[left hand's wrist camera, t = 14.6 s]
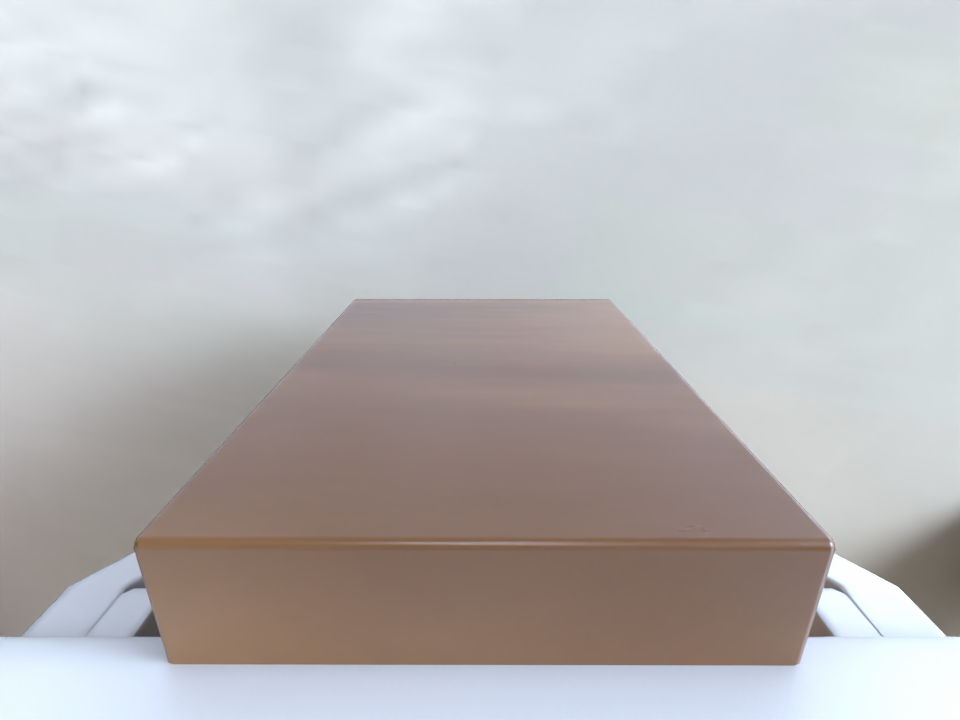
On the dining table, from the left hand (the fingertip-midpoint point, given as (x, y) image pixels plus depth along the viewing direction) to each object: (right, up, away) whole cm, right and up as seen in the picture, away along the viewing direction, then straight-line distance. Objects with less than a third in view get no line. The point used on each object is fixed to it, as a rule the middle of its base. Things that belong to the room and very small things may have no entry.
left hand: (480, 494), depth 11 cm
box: (0, -6, +6) cm, 9 cm away
